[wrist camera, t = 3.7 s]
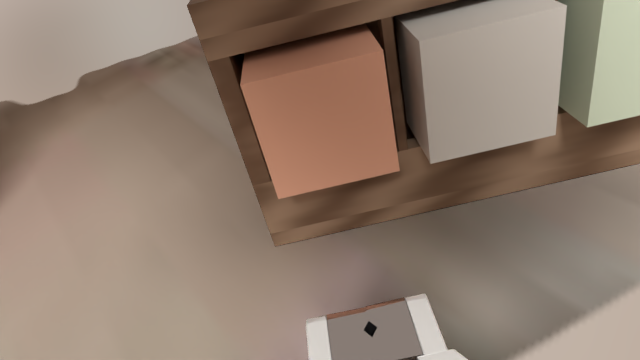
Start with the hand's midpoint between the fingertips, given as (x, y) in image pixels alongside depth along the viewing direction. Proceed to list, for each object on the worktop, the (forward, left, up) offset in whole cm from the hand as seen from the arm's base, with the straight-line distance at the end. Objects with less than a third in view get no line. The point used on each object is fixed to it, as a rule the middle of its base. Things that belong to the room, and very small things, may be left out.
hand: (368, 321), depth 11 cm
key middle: (+11, +10, -3) cm, 15 cm away
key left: (+4, +12, -3) cm, 13 cm away
